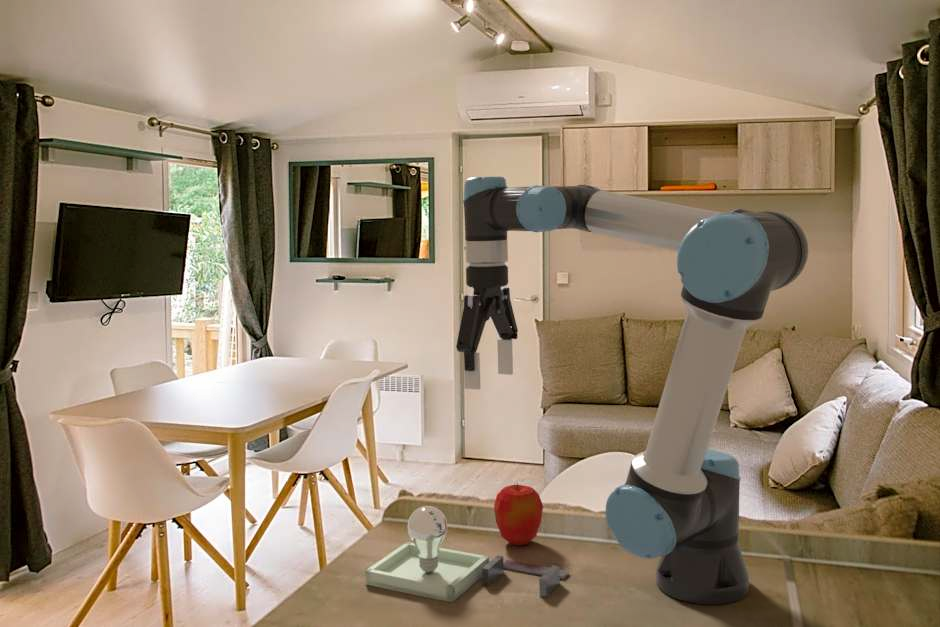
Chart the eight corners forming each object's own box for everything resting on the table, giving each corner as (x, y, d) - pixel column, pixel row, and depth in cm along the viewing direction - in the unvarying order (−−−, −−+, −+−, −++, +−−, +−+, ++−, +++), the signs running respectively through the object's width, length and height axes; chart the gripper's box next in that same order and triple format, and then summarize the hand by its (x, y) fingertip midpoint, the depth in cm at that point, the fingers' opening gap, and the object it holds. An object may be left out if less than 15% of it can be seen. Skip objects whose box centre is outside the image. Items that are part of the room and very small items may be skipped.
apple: (495, 553, 165) (494, 490, 163) (493, 534, 174) (492, 475, 172) (545, 551, 165) (544, 489, 164) (541, 533, 174) (540, 474, 172)
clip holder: (568, 574, 155) (568, 557, 155) (546, 597, 146) (546, 580, 146) (506, 562, 160) (506, 547, 160) (481, 584, 152) (481, 568, 151)
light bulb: (443, 582, 151) (441, 514, 150) (404, 579, 153) (401, 512, 151) (452, 565, 158) (450, 500, 156) (414, 563, 159) (412, 499, 158)
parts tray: (489, 570, 158) (489, 556, 157) (451, 602, 145) (451, 588, 145) (407, 554, 165) (407, 541, 165) (365, 584, 153) (365, 570, 153)
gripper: (497, 258, 171) (500, 367, 173) (433, 269, 149) (437, 393, 151) (533, 259, 167) (535, 369, 170) (473, 270, 145) (477, 397, 148)
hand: (489, 381), depth 161 cm, fingers open, 13 cm apart
